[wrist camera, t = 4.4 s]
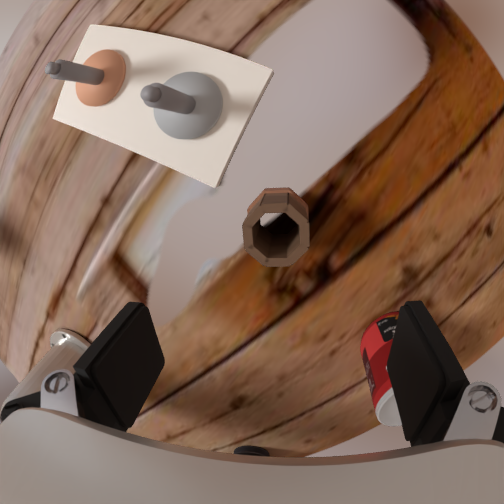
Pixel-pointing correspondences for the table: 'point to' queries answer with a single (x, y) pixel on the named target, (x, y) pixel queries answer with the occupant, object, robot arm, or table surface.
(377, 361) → the canned food
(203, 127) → the pin board
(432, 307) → the table surface
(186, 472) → the robot arm
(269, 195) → the sleeve
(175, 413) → the table surface
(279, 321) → the table surface
